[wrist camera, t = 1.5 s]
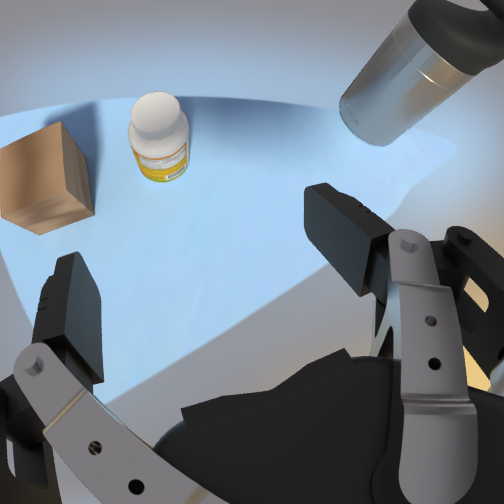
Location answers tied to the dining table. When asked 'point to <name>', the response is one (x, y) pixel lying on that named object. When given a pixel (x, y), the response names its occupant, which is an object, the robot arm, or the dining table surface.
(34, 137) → the walnut block
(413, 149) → the dining table surface
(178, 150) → the supplement bottle
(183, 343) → the dining table surface
